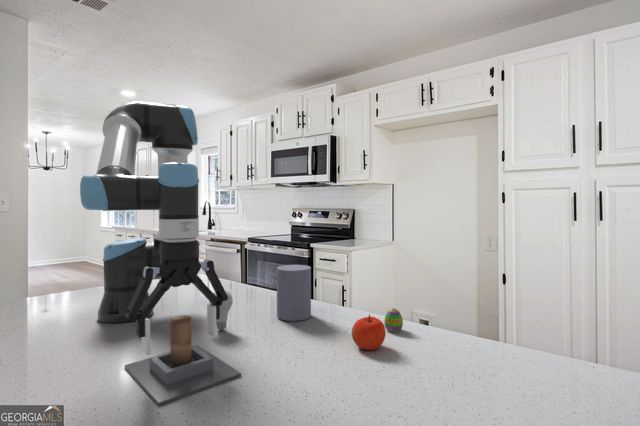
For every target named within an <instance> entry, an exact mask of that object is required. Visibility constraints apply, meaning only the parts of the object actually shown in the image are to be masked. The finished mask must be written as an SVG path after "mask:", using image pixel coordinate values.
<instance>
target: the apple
mask: <svg viewBox="0 0 640 426" xmlns="http://www.w3.org/2000/svg"><path fill="white" fill-rule="evenodd" d="M351 337H352V340H353V343H354V344H355V345H356V346H357V347H359V349H362V350H366V351H375V350H377V349H379V348H380V347H381V346H382V345H383V344H384V341H385V338H386V327H385V323H384V322H383V321H382V320H380V319H379V318H377V317H375V316H371V314H368V316H365V317H362V318H361V317H360V319H357V320H356V321H355V322H354V324H353V325H352V328H351Z"/></svg>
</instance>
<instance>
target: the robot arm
mask: <svg viewBox="0 0 640 426" xmlns="http://www.w3.org/2000/svg"><path fill="white" fill-rule="evenodd" d="M197 129H198V128H197V122H196V116H195V112H194V110H193V109H192V108H191V107H190V106H185V105H181V104H179V105H178V104H170V103H169V104H167V103H159V102H147V101H146V102H145V101H132V102H131V101H130V102H128V103H125V104H122V105H120V106H117V107H116V108H115V109H113V110H112V111H110V113H108V114H107V116H106V117H105V119H104V121H103V124H102V134H103V136H104V139H103V142H102V143H103V144H102V146H101V147H102V148H101V152H100V157H99V161H98V165H97V168H96V169H97V170H96V173H93V174H84V175H83V176H82V177H81V178H80V183H79V196H80V202H81V205H82V207H83V208H84V209H85V210H86V211H87V210H88V211H103V212H108V211H109V212H110V211H158V232H157V233H156V234H155V235H153V241H151V242H148V241H147V238H145V237H139V238H130V239H124V240H119V241H115V242H111V243H108V244H106V245H105V246H104V248H103V259H102V262H103V288H104V289H103V291H104V292H103V296H102V298H101V301H100V305H99V307H98V311H97V320H98V321H99V322H100V323H107V324H121V323H129V322H134V321H135V334H136V336H137V337H138V338H140V339H141V352H142V353H144V354H145V355H146V356H147V355H151V353H152V352H151V351H152V350H151V349H152V348H151V347H152V346H151V319H150V318H148V317H150V316H152V315H153V314H154V308H155V307H156V306H157V304H158V303H159V301H160V300H161V299H162V297H163V296H164V294H166V292H167V291H169V290H170V288H171V287H173V288H178V287H180V286H190V285H191V284H192V285H193V286H194V287H195V288H197V290H198V291H199V292H200V293H201V294H202V295H203V296H204V297H205V298H206V299H207V301H210V302H211V304H209V303H208V304H206V318H207V319H206V324H207V327H206V328H207V333H206V334H207V335H209V336H211V337H212V338H215V337H217V326H216V320H217V319H219V317H220V306H221V305H222V302H223V301H226V300H227V299H228V296H227V294H226V292H225V291H226V289H224V285H222V283H221V280H220V278H219V276H218V274H217V272H216V270H215V263H214V261H213V260H209V259H204V260H203V261H200V260H199V259H200V241H199V240H198V239H197V238H199V237H200V226H199V225H200V224H199V223H200V222H199V221H200V219H199V216H200V215H199V183H200V179H199V171H198V166H196V164H193V163H188V159H189V157H188V156H189V155H190V154H191V153H192V152H193V150H194V149H193V146H196V145H198V142H199V141H198V130H197ZM139 142H140V143H141V142H143V143H151V149H152V150H153V151H154V152H155V153H156V154H157V175H135V172H136V158H137V147H138V143H139ZM201 270H202V271H204V272H205V274H206V278H207V279H208V281H209V283H210V285H211V287H212V289H213V291H214V292H215V293H216V295H217V297H216V296H215V295H214V292H213V291H212V290H211V289H210V288H209V287H208V286H207V285H206V284H205V283H204V281H203V280H202V279H201V278H200V276H198V274H199V272H200V271H201ZM153 280H159V281H158V282H157V284H156V287H154V289H153V291H152V292H151V293H149V289H150V287H151V285H152V283H153Z"/></svg>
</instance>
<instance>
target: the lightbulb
mask: <svg viewBox="0 0 640 426" xmlns="http://www.w3.org/2000/svg"><path fill="white" fill-rule="evenodd" d="M225 292H226V294H227V296H228V299H227V300H226V301H223V302H222V305H221V306H220V317H219V319H217V320H216V330H219V331H224V330H225V329H226V328H227V321H228V316H229V312H230V310H231V307H232V306H233V299H234V298H233V296H232V294H231V293H230V292H229V291H228V290H225ZM213 293H214V295H215V296H216V297H217V295H216V293H215V291H214V292H213ZM208 301H209V300H208ZM208 304H211V302H210V301H209V303H208Z"/></svg>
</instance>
